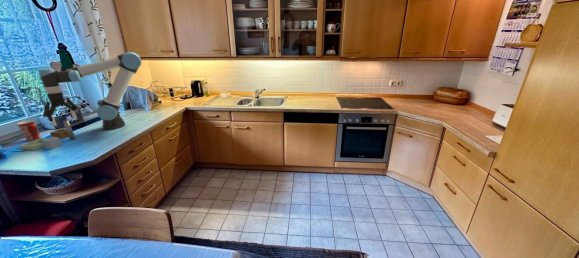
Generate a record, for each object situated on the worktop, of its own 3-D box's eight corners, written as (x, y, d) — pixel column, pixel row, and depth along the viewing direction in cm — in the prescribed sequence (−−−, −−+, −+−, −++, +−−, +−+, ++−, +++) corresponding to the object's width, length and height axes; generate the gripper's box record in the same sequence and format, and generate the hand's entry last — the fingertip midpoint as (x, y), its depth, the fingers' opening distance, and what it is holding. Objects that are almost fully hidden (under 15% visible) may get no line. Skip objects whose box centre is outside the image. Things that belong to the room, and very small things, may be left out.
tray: (42, 142, 169) (40, 138, 168) (55, 143, 167) (53, 139, 166) (21, 149, 158) (19, 145, 157) (35, 151, 156) (33, 146, 155)
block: (55, 145, 164) (52, 137, 162) (62, 145, 163) (59, 137, 161) (45, 148, 159) (41, 140, 157) (52, 149, 158) (49, 141, 156)
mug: (22, 140, 172) (13, 123, 167) (38, 136, 180) (30, 119, 175) (32, 143, 168) (24, 125, 163) (48, 138, 176) (40, 120, 171)
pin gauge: (73, 138, 175) (66, 120, 170) (76, 138, 174) (69, 120, 169) (68, 139, 172) (61, 121, 167) (72, 140, 171) (65, 121, 166)
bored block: (64, 134, 182) (61, 128, 180) (72, 135, 180) (70, 129, 178) (52, 138, 174) (49, 132, 173) (61, 139, 173) (58, 133, 171)
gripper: (69, 88, 172) (79, 116, 180) (27, 96, 150) (40, 128, 157) (77, 88, 171) (87, 117, 179) (36, 97, 148) (49, 128, 156)
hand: (65, 122), depth 168 cm, fingers open, 13 cm apart
